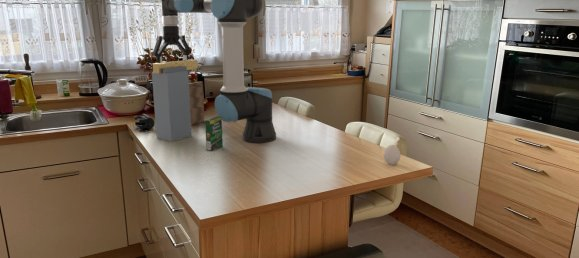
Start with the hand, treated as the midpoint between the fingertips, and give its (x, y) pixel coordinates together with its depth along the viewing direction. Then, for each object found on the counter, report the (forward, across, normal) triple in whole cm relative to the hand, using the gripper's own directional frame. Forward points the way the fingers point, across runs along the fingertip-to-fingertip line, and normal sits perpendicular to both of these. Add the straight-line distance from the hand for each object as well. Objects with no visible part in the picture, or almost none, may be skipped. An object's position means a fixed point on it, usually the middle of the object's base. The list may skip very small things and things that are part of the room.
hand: (173, 69), depth 220 cm
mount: (+28, +13, +20) cm, 37 cm away
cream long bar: (-2, +10, +20) cm, 22 cm away
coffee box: (+28, +10, +48) cm, 57 cm away
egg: (+28, -27, +111) cm, 117 cm away
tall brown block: (+28, -8, 0) cm, 29 cm away
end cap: (+28, +16, -3) cm, 33 cm away
